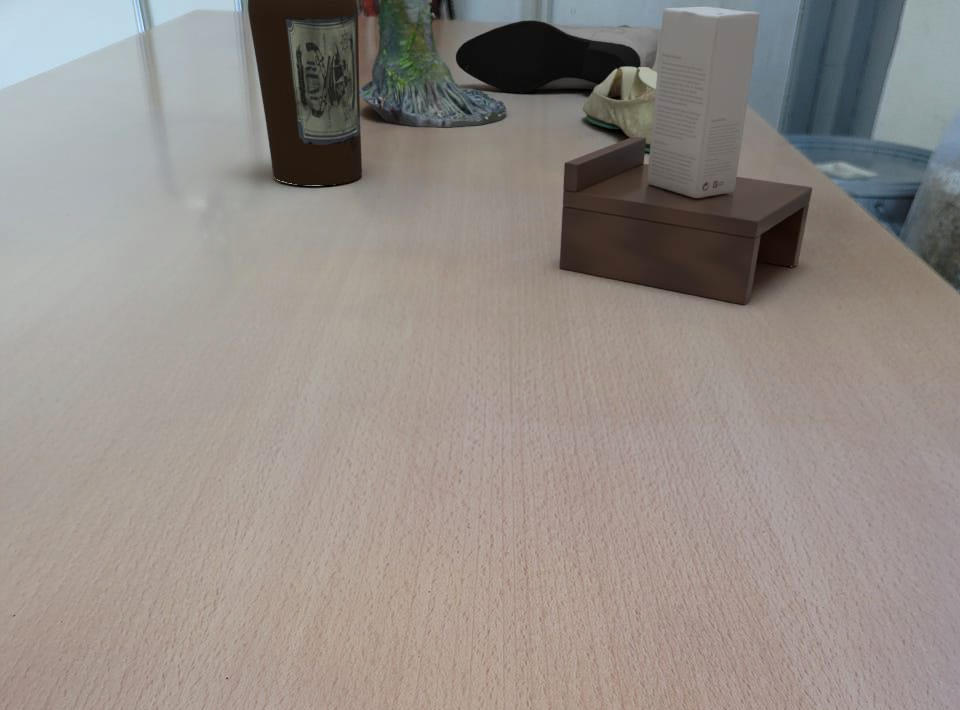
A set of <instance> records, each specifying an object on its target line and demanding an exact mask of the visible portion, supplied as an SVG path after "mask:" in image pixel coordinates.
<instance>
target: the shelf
mask: <svg viewBox="0 0 960 710" xmlns="http://www.w3.org/2000/svg"><path fill="white" fill-rule="evenodd" d="M645 145H646V138H642V137H635V136H634V137H631V138H629V137H628V138H626V139H623V140H621V141H618V142H615V143H613V144H610V145H608V146H605V147H603V148H600V149H596V150H595V151H591V152H589V153H587V154H584V155H582V156H579V157H577V158H574V159H571V160H568V161H566V162H564V166H563V167H564V169H563V184H562V185H563V187H562V188H563V189H562V190H563V191H562V210H561V211H562V212H561V229H560V249H559V269H562V270H568V271H573V272H578V273H583V274H587V275H588V274H589V275H593V276H598V277H601V278H608V279H613V280H618V281H622V282H627V283H633V284H638V285H642V286H648V287H653V288H658V289H662V290H667V291H668V290H669V291H674V292H677V293H683V294H688V295H693V296H698V297H702V298H703V297H704V298H709V299H714V300H717V301H722V302H729V303H734V304H739V305H746V304H748V302H750V301H751V297H752V290H753V285H754V279H755V274H756V273H755V272H756V267H757V262H758V263H759V262H760V263H765V264H769V263H772V264H771V265H775V264H777V265H776V266H781V265H784V266H783V267H786V266H790V267H789V268H792V267H793V268H795V267H796V266H797V265H798V264H799V261H800V255H801V249H802V244H803V239H804V234H805V229H806V225H807V224H806V223H807V218H808V214H809V209H810V208H809V207H810V202H811V198H812V192H813V187H812V186H807V185H806V186H805V185H797V184H791V183H784V182H778V181H770V180H762V179H756V178H748V177H743V176H741V177H740V176H737V177H736V184H735V190H734V192H731V193H726V194H719V195H714V196H708V197H703V198H692V197H689V196H686V195H683V194H679V193H676V192H673V191H669V190H666V189H663V188H659V187H656V186H653V185H649V184H647V175H648V164H649V163H645V156H646V155H645V154H646V151H645ZM796 264H797V265H796ZM795 265H796V266H795ZM791 266H792V267H791ZM794 266H795V267H794Z"/></svg>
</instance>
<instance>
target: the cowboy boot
mask: <svg viewBox="0 0 960 710" xmlns="http://www.w3.org/2000/svg"><path fill="white" fill-rule="evenodd" d="M658 41H659V40H658V36H657V33H656V32H655V29H653V28H651V27H650V26H645V25H644V26H643V25H642V26H634V27H632V26H630V25H628V24H623V25H619V26H618V25H617V26H594V27H592V26H591V27H585V28H580V29H579V28H578V29H573V28H566V27H561V26H556V25H552V24H550V23H548V22H545V21H539V20H534V19H532V20H520V21H515V22H511V23H508V24H505V25H502V26H499V27H496V28H493V29H489V30H488V31H485V32H484V33H481V34H479V35H476V36H474V37H472V38H470V39H468V40H466V41H465V42H463V43H462V45H460V46H459V47H458V50H457V51H456V53H455V62H456V64H457V66H458V67H459V68H460V69H461V70H462V71H463V72H464V73H466V74H468V75H469V76H471V77H472V78H474V79H476V80H477V81H480V82H482V83H483V84H486V85H488V86H490V87H492V88H494V89H497V90H499V91H503V92H505V93H511V94H528V93H531V92H534V91H536V90H542V89H544V90H545V89H547V90H548V89H559V90H560V89H561V90H570V89H575V90H594V88H595V87H596V86H597V85H599V84H601V83H602V82H603V81H604V80H605V79H606V78H607V77H608V76H609V75H610V74H611V73H612V72H613V71H614V70H615V69H619V68H620V67H636V68H638V67H648V68H650V69H651V70H653V67H654V66H655V64H656V59H657V52H658V43H659V42H658Z"/></svg>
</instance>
